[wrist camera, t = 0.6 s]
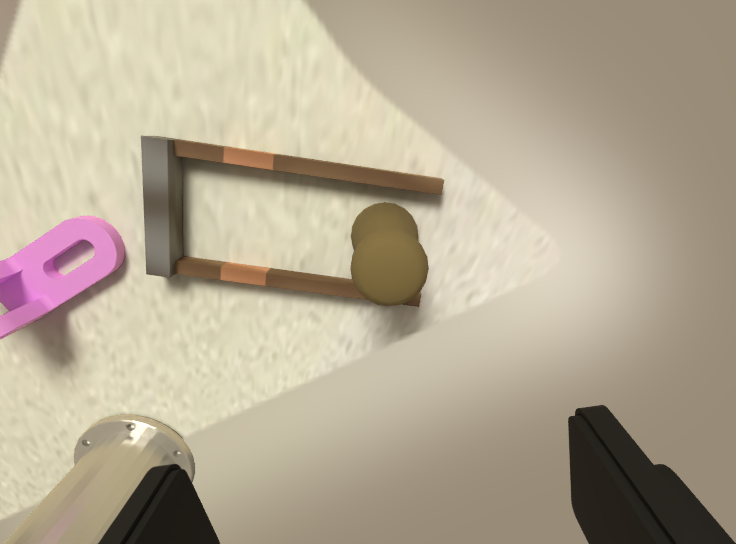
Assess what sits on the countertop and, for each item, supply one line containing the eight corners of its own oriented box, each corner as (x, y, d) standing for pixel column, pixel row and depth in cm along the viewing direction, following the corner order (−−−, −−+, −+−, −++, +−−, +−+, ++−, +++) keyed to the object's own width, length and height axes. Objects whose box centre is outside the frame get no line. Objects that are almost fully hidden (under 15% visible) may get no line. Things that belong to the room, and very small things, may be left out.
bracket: (36, 320, 38) (-35, 357, 31) (-7, 273, 37) (-91, 302, 30) (138, 256, 36) (86, 281, 29) (96, 203, 34) (31, 218, 28)
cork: (426, 256, 36) (449, 304, 25) (363, 276, 36) (360, 330, 26) (407, 193, 34) (423, 215, 23) (341, 214, 34) (329, 246, 24)
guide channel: (416, 300, 37) (420, 311, 34) (161, 265, 36) (146, 274, 34) (441, 178, 33) (446, 181, 31) (157, 136, 32) (140, 135, 30)
